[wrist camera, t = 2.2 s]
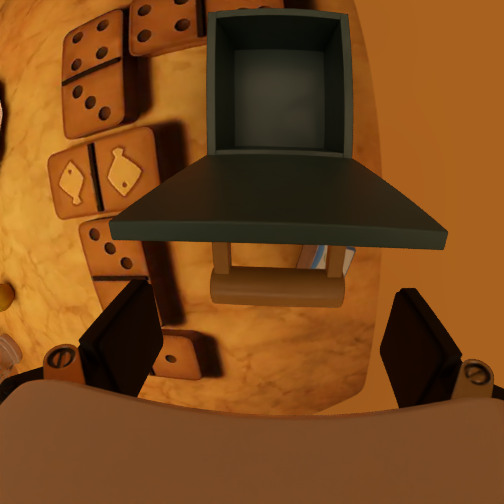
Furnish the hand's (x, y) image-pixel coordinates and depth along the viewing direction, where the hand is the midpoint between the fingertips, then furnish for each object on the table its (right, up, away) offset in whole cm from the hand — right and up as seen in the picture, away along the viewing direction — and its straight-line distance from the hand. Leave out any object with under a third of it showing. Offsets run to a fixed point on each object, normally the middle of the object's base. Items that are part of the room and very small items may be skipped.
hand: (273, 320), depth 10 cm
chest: (+3, +22, +21) cm, 30 cm away
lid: (+1, +7, +5) cm, 9 cm away
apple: (-60, -7, +39) cm, 72 cm away
